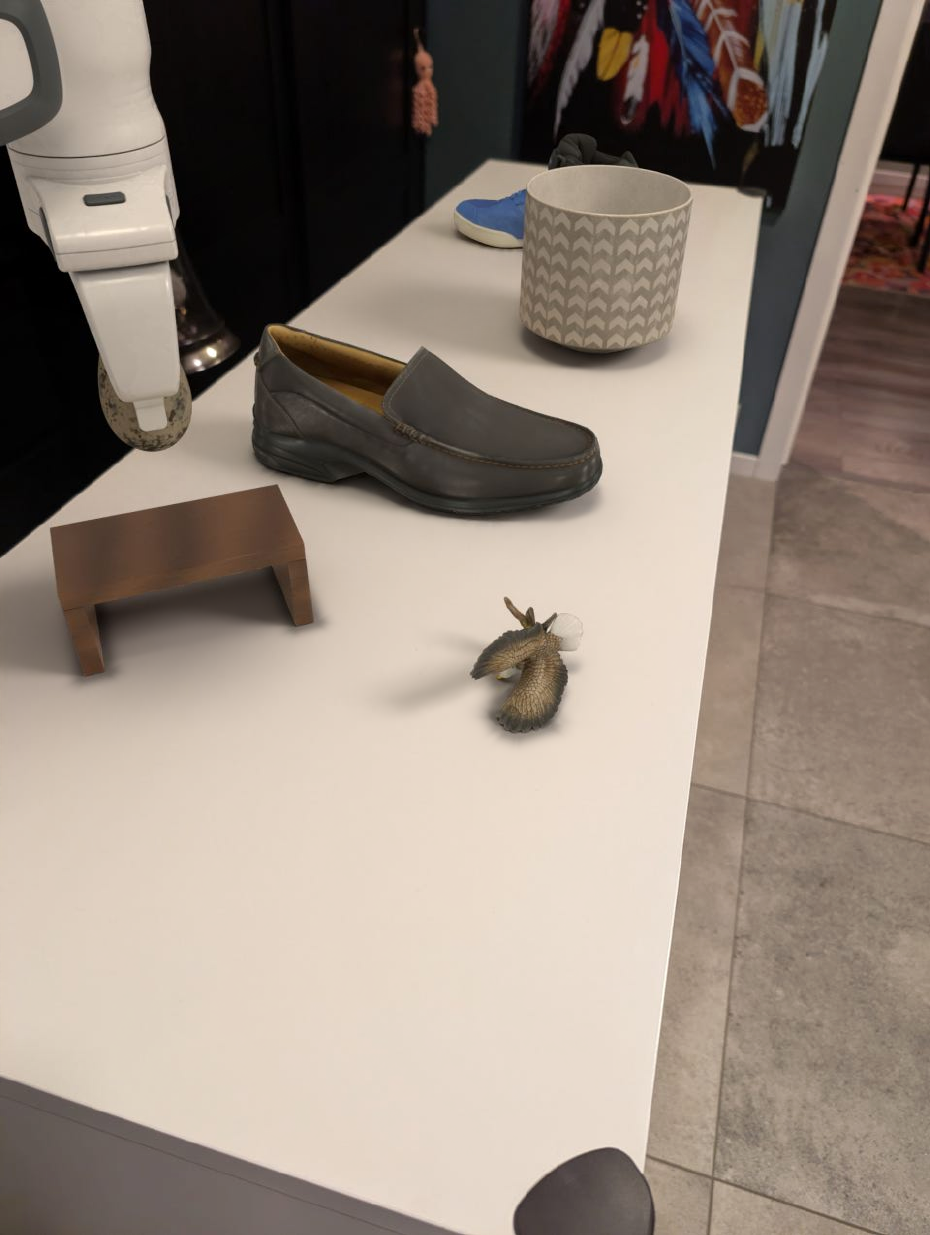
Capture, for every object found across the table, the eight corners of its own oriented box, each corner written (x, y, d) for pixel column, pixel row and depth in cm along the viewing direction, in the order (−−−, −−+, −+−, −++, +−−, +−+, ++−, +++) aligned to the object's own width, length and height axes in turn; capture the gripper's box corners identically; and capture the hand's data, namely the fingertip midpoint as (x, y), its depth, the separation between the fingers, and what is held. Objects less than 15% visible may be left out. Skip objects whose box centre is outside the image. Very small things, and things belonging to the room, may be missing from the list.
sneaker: (466, 220, 155) (467, 109, 145) (645, 243, 148) (660, 128, 138) (440, 245, 146) (439, 129, 136) (629, 271, 139) (644, 150, 129)
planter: (660, 382, 112) (685, 223, 101) (502, 361, 116) (509, 205, 104) (676, 319, 126) (700, 172, 115) (535, 302, 130) (544, 158, 118)
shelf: (84, 676, 73) (57, 595, 68) (75, 606, 80) (49, 527, 75) (313, 622, 79) (304, 543, 73) (287, 560, 85) (277, 483, 80)
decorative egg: (213, 432, 70) (190, 298, 64) (175, 474, 66) (145, 335, 59) (140, 421, 71) (109, 289, 65) (97, 462, 67) (60, 324, 60)
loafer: (588, 540, 88) (603, 412, 80) (226, 483, 94) (204, 359, 86) (607, 467, 98) (623, 347, 89) (278, 420, 104) (263, 304, 96)
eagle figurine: (474, 628, 76) (444, 688, 69) (529, 569, 73) (504, 626, 65) (547, 686, 77) (526, 752, 70) (605, 631, 74) (590, 694, 66)
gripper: (34, 149, 64) (85, 346, 73) (53, 253, 49) (114, 483, 58) (132, 141, 65) (170, 334, 74) (179, 239, 51) (218, 464, 60)
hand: (146, 401), depth 66 cm, fingers closed on decorative egg, 6 cm apart
